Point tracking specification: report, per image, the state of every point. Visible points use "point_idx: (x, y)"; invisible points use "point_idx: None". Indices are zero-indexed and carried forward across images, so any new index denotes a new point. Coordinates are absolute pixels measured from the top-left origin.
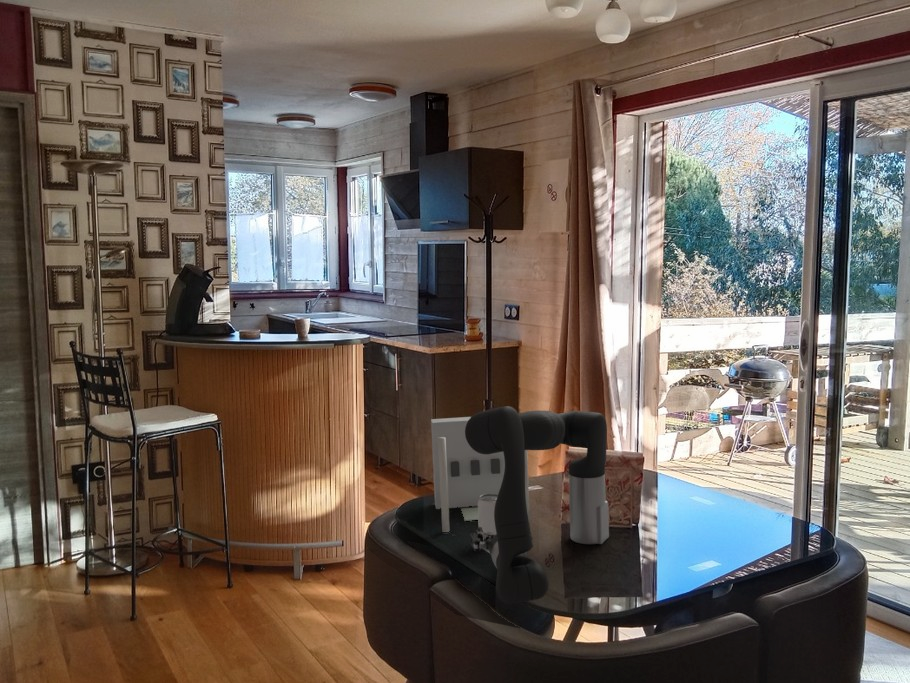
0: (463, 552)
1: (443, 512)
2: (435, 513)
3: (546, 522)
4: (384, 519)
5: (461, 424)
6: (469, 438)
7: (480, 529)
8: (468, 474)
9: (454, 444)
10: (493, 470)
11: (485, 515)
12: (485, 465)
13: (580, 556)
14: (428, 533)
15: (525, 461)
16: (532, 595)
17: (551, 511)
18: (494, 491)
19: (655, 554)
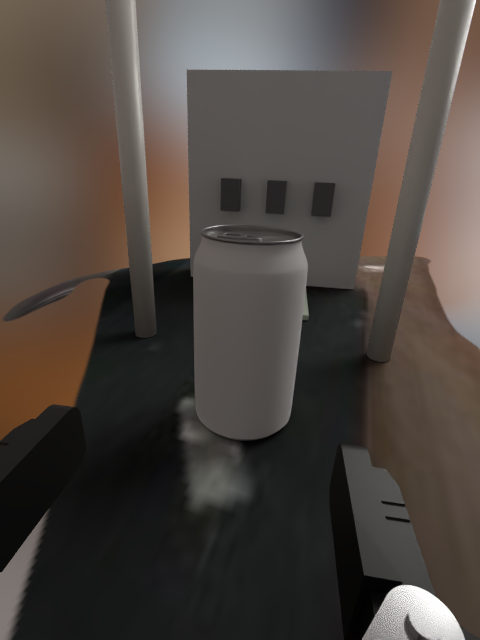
0: (90, 454)
1: (132, 278)
2: (179, 284)
3: (440, 355)
4: (74, 279)
5: (256, 80)
6: None
7: (14, 448)
8: (260, 213)
9: (235, 135)
10: (316, 207)
11: (210, 312)
12: (300, 196)
13: None
14: (100, 328)
15: (437, 126)
16: None
17: (442, 321)
18: (311, 258)
19: None
